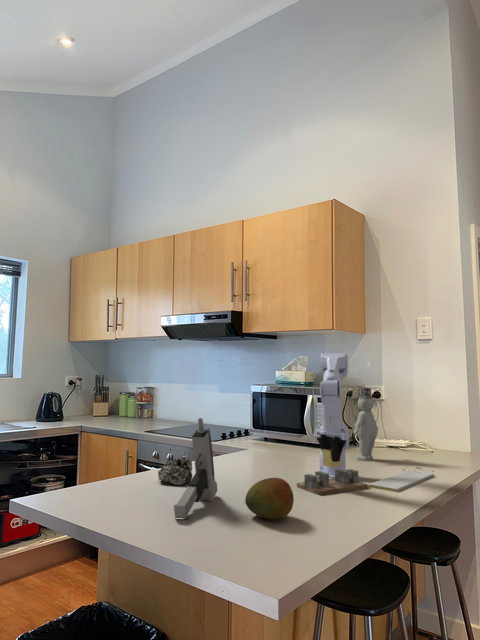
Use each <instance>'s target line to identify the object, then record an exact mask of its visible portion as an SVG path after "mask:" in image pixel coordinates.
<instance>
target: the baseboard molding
mask: <svg viewBox="0 0 480 640" xmlns="http://www.w3.org/2000/svg"><path fill="white" fill-rule="evenodd" d="M422 468H423V467H415V468H412V470H411V469H409V467H407V466H406V469H409V470H403V471H402V472H399V473H397V474H393V475H391V476H388V477H384V478H382V479H380V480H376V481H374V482H371V483H368V488H372V489H377V490H384V491H389V492H394V493H398V492H400V491H403V490H404V489H407V488H409V487H412V486H414V485H416V484H418V483H421V482H423V481H425V480H428V479H431V478H432V477H434V476H435V473H434V472H435V471H434V470H432V472H426V471H429V470H427V469H426V471H421V470H423V469H422ZM413 469H414V470H413ZM416 469H417V470H420V471H417V470H416Z"/></svg>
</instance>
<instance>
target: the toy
mask: <svg viewBox="0 0 480 640" xmlns="http://www.w3.org/2000/svg"><path fill="white" fill-rule="evenodd" d="M357 405H358V406H357V407H358V409H360V410H361V411H359V412H358V416H357V419H356V422H355V425H354V429H353V434H354V436H355V435H356V436H357V438H358V439H359V441H358V443H359V452H360V454H358V455H357V456H356V459H357V460H358V461H363V462H366V461H369V460H373V458H374V457H373V455H372V453H373V452H372V451H373V449H374V446H375V443H376V442H375V441H376V438H377V436H378V434H379V433H378V432H379V427H378V425H377V422H376V420H375V416H374V414H373V412H372V411H371V410H372V409H374V405H375V399H374V398H373V396H372V388H371V387H359V396H358V401H357Z"/></svg>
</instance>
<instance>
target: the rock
mask: <svg viewBox="0 0 480 640" xmlns="http://www.w3.org/2000/svg"><path fill="white" fill-rule="evenodd" d="M192 471H193V462H192V459H191V457H189V456H187V457H186V456H181V457H180V458H177V457H176V458H173V459H171V460H166V461H165V462H164V464H163V466H161V468H160V469H159V470H158V480H159V481H160V480H161V481H162V482H164V483H171V484H173V485H174V484H175V486H183V485H185V484H188V483H190V481H191V480H192V478H193V473H192ZM161 481H160V482H161Z"/></svg>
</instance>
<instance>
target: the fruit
mask: <svg viewBox="0 0 480 640" xmlns="http://www.w3.org/2000/svg"><path fill="white" fill-rule="evenodd" d="M245 505H246V507H247V509H248V510H250V512H251V513H253V514H255V515H256V516H258V517H260V518H263V519H267V520H278V519H283V518H284V517H287V515H289V514H290V512H292V510H293V506H294V492H293V490H292V487H291V485H290V484H289V483H288V482H287V480H285V479H283V478H280V477H269V478H264V479H262V480H261V479H260V480H259V481H257V482H256V483H254V484H253V485H252V486H251V487H250V488H249V489H248V490H247V492H246V496H245Z"/></svg>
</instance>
